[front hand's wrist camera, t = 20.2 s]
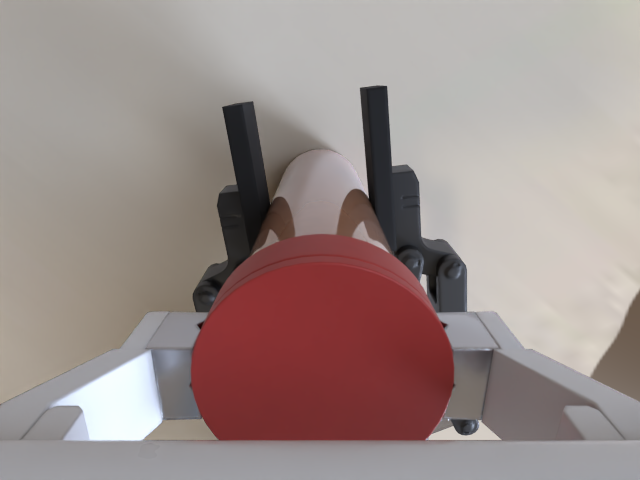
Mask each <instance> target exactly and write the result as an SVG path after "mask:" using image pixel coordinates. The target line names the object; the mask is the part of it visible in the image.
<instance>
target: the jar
mask: <svg viewBox="0 0 640 480" xmlns="http://www.w3.org/2000/svg"><path fill="white" fill-rule="evenodd" d="M313 234H332V235H341V236H347V237H352V238H356V239H359V240H362V241H365V242H368V243H371V244H373V245H375V246H377V247H379V248H381V249H383V250H385V251H386V252H388V253H390V254H391V255H393V252H392V250H391V248H390V246H389V243H388V241H387V239H386V237H385V234H384V232H383V230H382V228H381V225H380V223H379V221H378V219H377V216H376V214H375V212H374V210H373V207H372V205H371V203H370V201H369V198H368V196H367V194H366V192H365V189H364V187H363V185H362V183H361V180H360V178H359V176H358V174H357V172H356V170H355V168H354V166H353V165H352V164H351V163H350V161H349V160H347V159H346V158H345V157H344V156H342V155H341V154H339V153H336V152H334V151H331V150H325V149H316V150H311V151H307V152H305V153H303V154H301V155H299V156H298V157H296V158H295V159H294V160H293V161H292V162H291V163H290V164H289V165H288V167H287V168H286V170H285V172H284V174H283V176H282V179H281V181H280V184H279V186H278V188H277V191H276V193H275V195H274V198H273V200H272V203H271V205H270V207H269V210H268V212H267V214H266V217H265V219H264V222H263V224H262V226H261V229H260V231H259V233H258V236H257V238H256V240H255V243H254V245H253V248H252V250H251V252H250V255H249V257H250V256H252V255H253V254H255V253H256V252H258V251H259V250H261V249H263V248H265V247H267V246H269V245H272V244H274V243H276V242H279V241H282V240H285V239H288V238H293V237H298V236H303V235H313ZM393 256H394V255H393ZM249 257H248V258H249Z"/></svg>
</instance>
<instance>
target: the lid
mask: <svg viewBox="0 0 640 480" xmlns="http://www.w3.org/2000/svg"><path fill="white" fill-rule="evenodd" d="M190 371H191V385H192V390H193V394H194V399H195V401H196V404H197V407H198V409H199V412H200V414H201V416H202V417H203V419H204V421H205V423H206V424H207V426H208V427H209V428H210V430H211V431H212V432H213V434H214V435H215V436H216V437H217V438H218V439H219V440H426V439H427V438H428V437H429V436H430V435H431V434H432V432H433V431H434V429H435V428H436V427H437V425H438V424H439V422H440V421H441V419H442V417H443V415H444V413H445V411H446V409H447V406H448V403H449V401H450V398H451V394H452V388H453V383H454V360H453V352H452V349H451V345H450V342H449V338H448V336H447V334H446V332H445V330H444V328H443V326H442V324H441V322H440V320H439V318H438V316H437V314H436V312H435V310H434V308H433V306H432V304H431V302H430V300H429V298H428V296H427V294H426V293H425V291H424V289H423V287H422V286H421V284H420V283H419V281H418V280H417V278H416V277H415V276H414V274H413V273H412V272H411V271H410V270H409V269H408V268H407V267H406V266H405V265H404V264H403V263H402V262H400V261H399V260H398V259H397V258H396V257H394V256H393V255H391V254H390V253H388V252H386V251H385V250H383V249H381V248H379V247H377V246H375V245H373V244H371V243H368V242H365V241H362V240H359V239H356V238H352V237H347V236H341V235H332V234H313V235H303V236H298V237H293V238H288V239H285V240H282V241H279V242H276V243H274V244H272V245H269V246H267V247H265V248H263V249H261V250H259V251H258V252H256V253H255V254H253V255H252V256H250V257H249V258H247V259H246V260H245V261H244V262H243V263H242V264H241V265H239V266H238V267H237V268H236V269H235V270H234V272H233V273H232V274H231V275H230V276H229V277H228V279H227V280H226V282H225V283H224V285H223V286H222V288H221V289H220V291H219V293H218V295H217V297H216V299H215V301H214V303H213V305H212V307H211V309H210V311H209V313H208V315H207V317H206V319H205V321H204V323H203V325H202V327H201V330H200V332H199V334H198V337H197V339H196V341H195V345H194V349H193V353H192V359H191V369H190Z"/></svg>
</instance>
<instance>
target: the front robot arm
mask: <svg viewBox="0 0 640 480" xmlns="http://www.w3.org/2000/svg"><path fill="white" fill-rule="evenodd" d="M208 313H209V312H170V311H160V312H147V313H146V315H145V316H144V317H143V319H142V320H141V321H140V323H139V324H138V325H137V326H136V328H135V329H134V330H133V332H132V333H131V334H130V336H129V337H128V338H127V340H126V341H125V342H124V344H123V345H122V346H121V347H120V349H112V350H110V351H108V352H106V353H104V354H102V355H100V356H98V357H96V358H94V359H91V360H89V361H87V362H85V363H83V364H81V365H79V366H77V367H75V368H73V369H71V370H69V371H67V372H65V373H63V374H61V375H59V376H57V377H55V378H53V379H51V380H49V381H47V382H45V383H43V384H41V385H39V386H37V387H34V388H32V389H30V390H28V391H26V392H24V393H22V394H20V395H18V396H16V397H14V398H12V399H10V400H8V401H6V402H4V403H2V404H1V405H0V480H640V402H639V401H637V400H635V399H633V398H631V397H629V396H627V395H625V394H623V393H620V392H619V391H616V390H614V389H612V388H610V387H608V386H606V385H604V384H602V383H600V382H598V381H596V380H594V379H592V378H590V377H588V376H586V375H584V374H582V373H580V372H578V371H576V370H573V369H571V368H569V367H567V366H565V365H563V364H561V363H559V362H557V361H555V360H553V359H551V358H549V357H547V356H545V355H543V354H541V353H539V352H537V351H535V350H533V349H525V348H524V347H523V346H522V345H521V343H520V342H519V341H518V339H517V338H516V337H515V336H514V334H513V333H512V332H511V331H510V329H509V328H508V327H507V325H506V324H505V323H504V322H503V320H502V319H501V318H500V316H499V315H498V314H497V313H496V312H493V311H485V312H443V313H436V314H437V316H438V318H439V320H440V322H441V324H442V326H443V328H444V330H445V332H446V334H447V336H448V338H449V342H450V345H451V349H452V352H453V360H454V383H453V388H452V394H451V398H450V401H449V403H448V406H447V409H446V411H445V413H444V415H443V417H442V418H443V419H465V420H482V421H481V422H482V423H484V424H485V425H486V426H487V427H488V428H489V429H490V430H491V431H493V432H494V433H495V434H496V435H497V436H498V437H499V438H501V439H502V440H143V439H144V438H145V437H146V436H147V435H148V434H149V433H151V432H152V431H153V430H154V429H155V428H156V427H157V426H158V425H160V424H161V423H162V420H178V419H201V418H202V416H201V414H200V412H199V409H198V407H197V404H196V401H195V399H194V394H193V390H192V385H191V371H190V369H191V359H192V353H193V349H194V345H195V341H196V339H197V337H198V334H199V332H200V330H201V327H202V325H203V323H204V321H205V319H206V317H207V315H208Z"/></svg>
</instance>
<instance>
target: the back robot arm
mask: <svg viewBox="0 0 640 480" xmlns="http://www.w3.org/2000/svg"><path fill="white" fill-rule="evenodd" d="M360 94H361V107H362V119H363V131H364V143H365V156H366V168H367V180H368V193H369V201H370V203H371V205H372V207H373V210H374V212H375V214H376V216H377V219H378V221H379V223H380V225H381V228H382V230H383V232H384V234H385V237H386V239H387V241H388V243H389V246H390V248H391V250H392V252H393V255H394V257H396V258H397V259H398V260H399V261H400V262H402V263H403V264H404V265H405V266H406V267H407V268H408V269H409V270H410V271H411V272H412V273H413V274H414V276H415V277H416V278H417V280H418V281H419V283H420V279H421V275H422V274H425V275H427V296H428V298H429V300H430V302H431V304H432V306H433V308H434V310H435V312H436V313H443V312H467V269H466V265H465V264H464V263H463V261H462V260H461V259H460V257H459V256H458V255H457V253H456V252H455V251H454V250H453V248H452V247H451V246H450V245H449V244H448V242H447V241H445V240H443V239H437V240H429V239H425V238H422V237H421V223H420V197H419V181H418V179H417V177H416V175H415V173H414V171H413V170H412V169H411V168H410V167H409V166H408V165H399V166H392V161H391V145H390V128H389V111H388V95H387V86H370V87H362V88H360ZM222 109H223V114H224V119H225V124H226V129H227V135H228V140H229V145H230V150H231V155H232V161H233V166H234V171H235V176H236V181H237V185H229V186H226V187H225V188H224V189H223V190H222V191H221V192H220V193H219V198H218V203H217V208H218V213H219V217H220V222H221V227H222V231H223V236H224V241H225V245H226V250H227V255H228V260H227V261H225V262H223V263H220V264H217V263H216V264H213V265H211V266H210V267H208V269H207V271H206V272H205V274H204V275H203V277H202V279H201V280H200V282H199V284H198V285H197V287H196V289H195V291H194V293H193V301H194V305H195V309H196V312H209V311H210V309H211V307H212V305H213V303H214V301H215V299H216V297H217V295H218V293H219V291H220V289H221V288H222V286H223V285H224V283H225V282H226V280H227V279H228V277H229V276H230V275H231V274H232V273H233V272H234V270H235V269H236V268H237V267H238V266H239V265H241V264H242V263H243V262H244V261H245V260H246V259H247V258H248V257H249V255H250V252H251V250H252V248H253V245H254V243H255V240H256V238H257V236H258V233H259V231H260V229H261V226H262V224H263V222H264V219H265V217H266V214H267V212H268V210H269V207H270V200H269V194H268V188H267V182H266V176H265V170H264V164H263V158H262V152H261V146H260V140H259V134H258V128H257V122H256V116H255V110H254V104H253V101H252V102H245V103H237V104H232V105H228V106H224V107H222ZM451 426H454V428H455V430H456V431H457V432H458V433H459V434H461V435H471V434H473V433H475V432H476V431H477V430H478V428H479V422H478V420H465V419H443V418H442V419H441V421H440V422H439V424H438V425H437V427H436V428H435V429H434V431H433V432H432V434H433V433H435V432H438V431H441V430H443V429H446V428H449V427H451ZM426 440H428V438H427V439H426Z"/></svg>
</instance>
